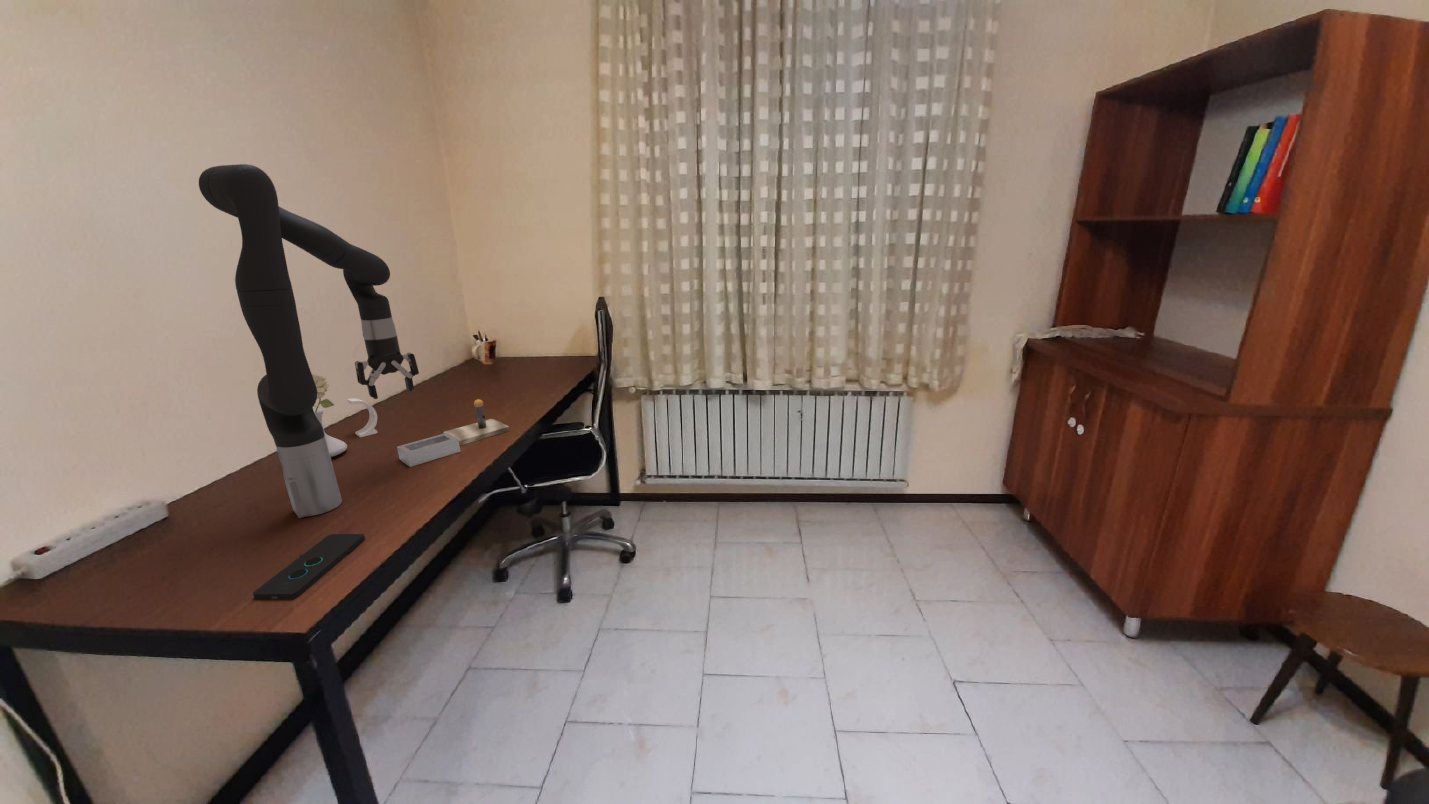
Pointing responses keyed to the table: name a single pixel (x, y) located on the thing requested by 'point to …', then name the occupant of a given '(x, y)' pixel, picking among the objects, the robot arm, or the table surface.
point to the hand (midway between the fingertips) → (393, 394)
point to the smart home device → (309, 567)
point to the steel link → (428, 449)
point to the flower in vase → (321, 385)
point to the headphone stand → (372, 419)
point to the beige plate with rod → (478, 427)
